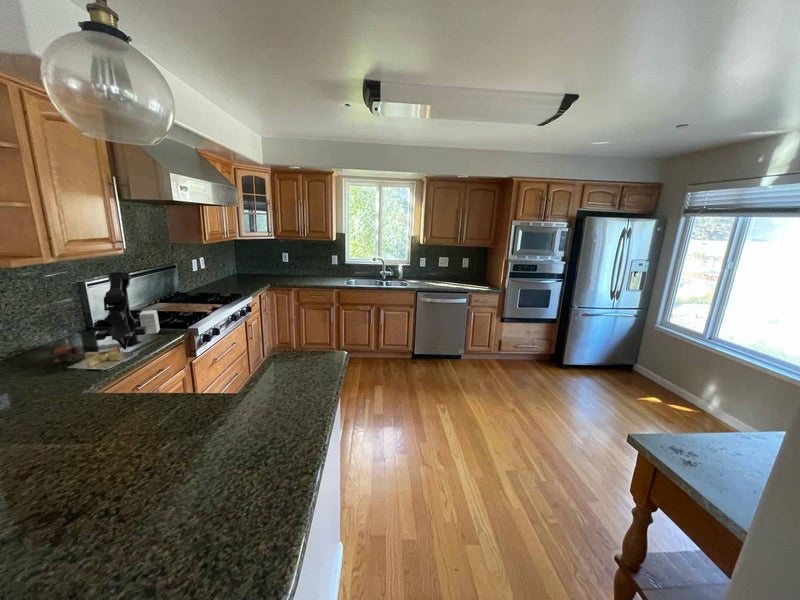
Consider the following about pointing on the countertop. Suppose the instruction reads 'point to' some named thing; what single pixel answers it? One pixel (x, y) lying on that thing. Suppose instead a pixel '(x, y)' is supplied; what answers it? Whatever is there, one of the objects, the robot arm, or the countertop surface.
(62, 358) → the brown clawed figurine
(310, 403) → the countertop surface
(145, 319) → the supplement box
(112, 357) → the brass cross latch
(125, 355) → the flange plate
